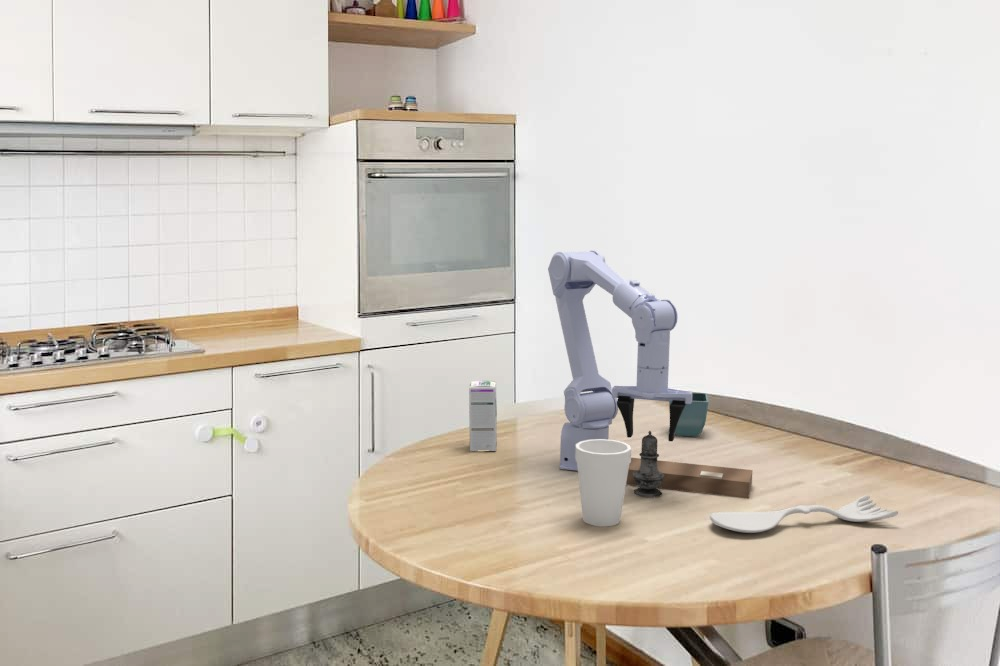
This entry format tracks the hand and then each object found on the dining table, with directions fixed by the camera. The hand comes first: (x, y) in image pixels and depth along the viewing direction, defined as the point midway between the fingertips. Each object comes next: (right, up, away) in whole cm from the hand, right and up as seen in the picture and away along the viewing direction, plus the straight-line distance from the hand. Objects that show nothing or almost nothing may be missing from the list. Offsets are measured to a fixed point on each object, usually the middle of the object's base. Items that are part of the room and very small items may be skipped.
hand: (650, 438), depth 174 cm
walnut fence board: (+8, -10, +6) cm, 14 cm away
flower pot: (+15, -4, +43) cm, 46 cm away
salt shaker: (0, -11, +1) cm, 11 cm away
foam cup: (-11, -13, -13) cm, 21 cm away
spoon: (+23, -14, -14) cm, 30 cm away
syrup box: (-32, -6, +30) cm, 44 cm away
